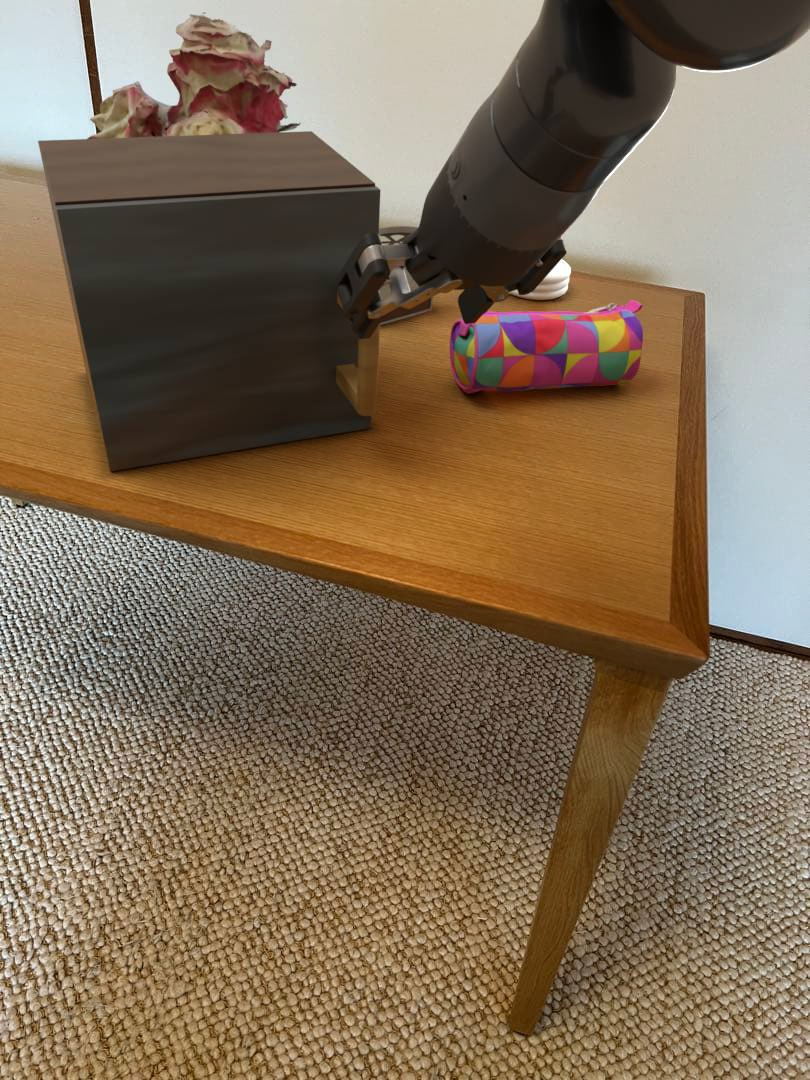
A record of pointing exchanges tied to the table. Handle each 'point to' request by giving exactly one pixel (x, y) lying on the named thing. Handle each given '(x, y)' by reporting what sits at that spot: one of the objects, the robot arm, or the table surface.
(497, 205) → the robot arm
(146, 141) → the cupboard
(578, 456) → the table surface
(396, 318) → the food container
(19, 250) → the table surface
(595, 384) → the pencil case
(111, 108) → the rose bouquet
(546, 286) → the white stacked discs
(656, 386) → the table surface
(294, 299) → the door
